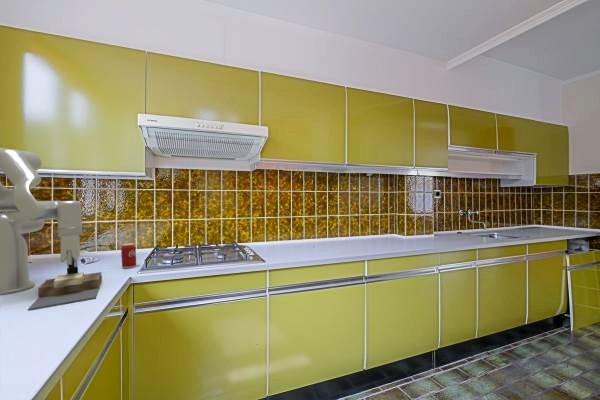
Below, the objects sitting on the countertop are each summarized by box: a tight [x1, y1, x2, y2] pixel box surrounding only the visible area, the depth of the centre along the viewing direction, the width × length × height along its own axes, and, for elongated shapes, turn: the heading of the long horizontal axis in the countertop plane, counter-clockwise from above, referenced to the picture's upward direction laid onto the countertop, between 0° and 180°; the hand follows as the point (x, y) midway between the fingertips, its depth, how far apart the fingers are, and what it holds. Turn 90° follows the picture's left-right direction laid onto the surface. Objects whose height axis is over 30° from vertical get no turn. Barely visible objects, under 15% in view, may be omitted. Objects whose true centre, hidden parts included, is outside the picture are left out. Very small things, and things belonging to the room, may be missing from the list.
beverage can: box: [120, 242, 137, 269], centre depth 144 cm, size 6×6×12 cm
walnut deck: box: [37, 271, 103, 298], centre depth 112 cm, size 18×12×4 cm, turn 121°
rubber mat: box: [27, 288, 100, 312], centre depth 102 cm, size 18×11×1 cm, turn 121°
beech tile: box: [54, 271, 85, 288], centre depth 108 cm, size 8×7×2 cm
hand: (72, 277), depth 112 cm, fingers closed
